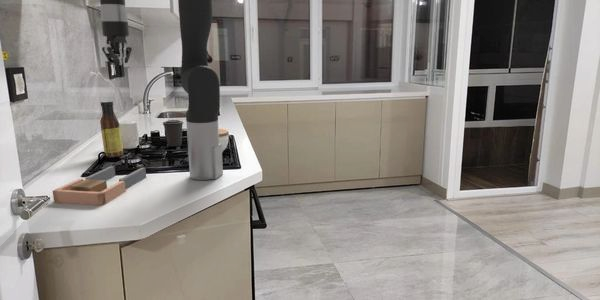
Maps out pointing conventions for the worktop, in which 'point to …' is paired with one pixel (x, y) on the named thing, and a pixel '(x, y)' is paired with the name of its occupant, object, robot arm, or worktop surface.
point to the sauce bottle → (110, 131)
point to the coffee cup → (173, 132)
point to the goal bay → (88, 194)
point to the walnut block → (90, 185)
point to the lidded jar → (223, 138)
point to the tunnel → (128, 179)
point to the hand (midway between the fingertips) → (120, 77)
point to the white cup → (129, 133)
